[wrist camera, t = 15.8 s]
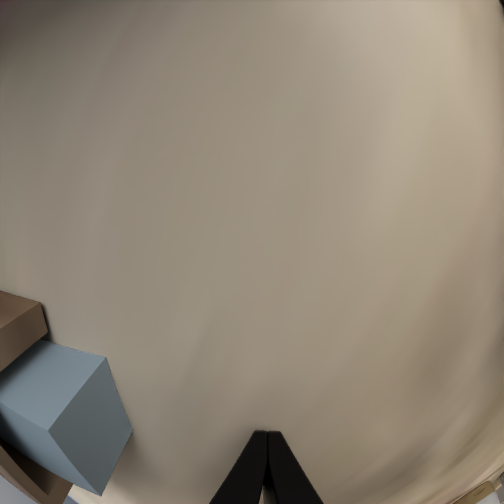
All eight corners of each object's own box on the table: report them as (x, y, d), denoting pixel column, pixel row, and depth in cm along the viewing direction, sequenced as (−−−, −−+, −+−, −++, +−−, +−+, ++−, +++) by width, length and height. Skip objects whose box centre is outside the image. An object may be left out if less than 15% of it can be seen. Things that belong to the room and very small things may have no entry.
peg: (108, 354, 8) (47, 430, 4) (134, 426, 9) (101, 496, 5) (-8, 318, 8) (-57, 352, 4) (18, 381, 9) (-20, 420, 5)
